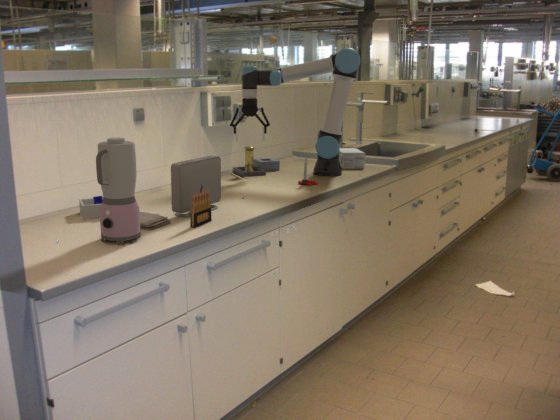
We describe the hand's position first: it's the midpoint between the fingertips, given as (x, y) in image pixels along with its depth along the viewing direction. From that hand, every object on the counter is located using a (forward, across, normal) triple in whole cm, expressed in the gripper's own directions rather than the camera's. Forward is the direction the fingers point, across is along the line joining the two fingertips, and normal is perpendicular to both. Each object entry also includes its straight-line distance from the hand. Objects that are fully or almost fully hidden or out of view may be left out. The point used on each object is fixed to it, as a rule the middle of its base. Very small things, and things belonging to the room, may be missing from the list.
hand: (250, 140), depth 283 cm
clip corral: (+17, +52, +81) cm, 98 cm away
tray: (+18, +1, 0) cm, 18 cm away
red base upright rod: (+19, -28, +20) cm, 40 cm away
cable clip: (+18, +52, +81) cm, 98 cm away
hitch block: (+18, -8, -13) cm, 23 cm away
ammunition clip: (+18, +16, +94) cm, 97 cm away
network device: (+18, +19, +76) cm, 81 cm away
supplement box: (+20, -57, -33) cm, 68 cm away
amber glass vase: (+17, +1, 0) cm, 17 cm away
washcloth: (+18, +37, +94) cm, 103 cm away
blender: (+18, +40, +114) cm, 123 cm away
